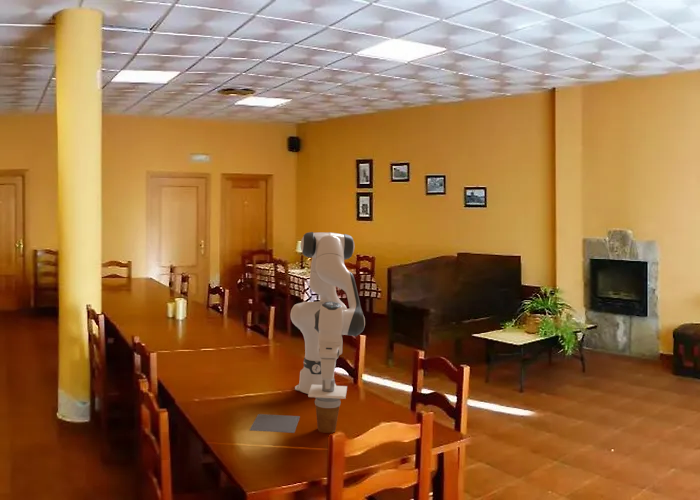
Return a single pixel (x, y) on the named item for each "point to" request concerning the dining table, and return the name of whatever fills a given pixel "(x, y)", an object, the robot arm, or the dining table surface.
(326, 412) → the disposable coffee cup
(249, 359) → the dining table surface
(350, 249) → the robot arm
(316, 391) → the lid
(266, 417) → the mat
